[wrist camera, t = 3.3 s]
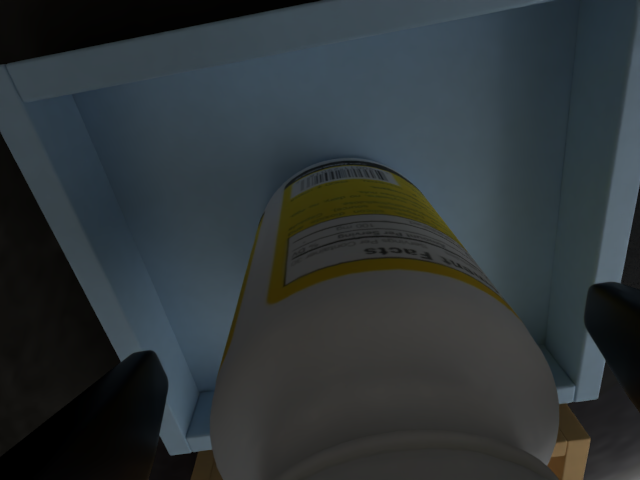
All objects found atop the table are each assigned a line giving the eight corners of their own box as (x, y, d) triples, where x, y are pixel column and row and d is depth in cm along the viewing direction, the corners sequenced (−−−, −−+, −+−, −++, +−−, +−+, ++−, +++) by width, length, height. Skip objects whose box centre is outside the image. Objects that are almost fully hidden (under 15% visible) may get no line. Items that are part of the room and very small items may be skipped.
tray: (606, -48, 10) (692, -75, 7) (558, 349, 15) (599, 400, 13) (38, 65, 10) (-33, 71, 8) (189, 401, 16) (169, 455, 14)
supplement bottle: (348, 335, 14) (407, 815, 5) (224, 244, 12) (9, 727, 4) (468, 232, 12) (851, 692, 4) (344, 111, 11) (485, 415, 2)
